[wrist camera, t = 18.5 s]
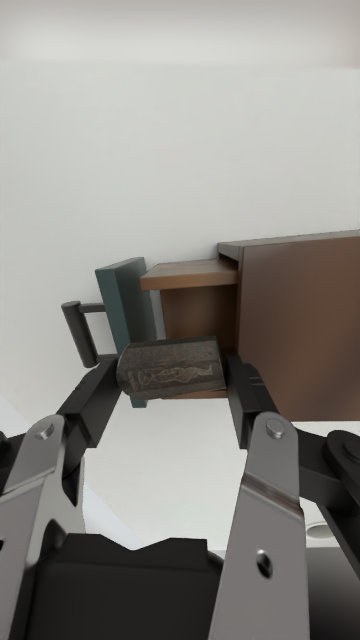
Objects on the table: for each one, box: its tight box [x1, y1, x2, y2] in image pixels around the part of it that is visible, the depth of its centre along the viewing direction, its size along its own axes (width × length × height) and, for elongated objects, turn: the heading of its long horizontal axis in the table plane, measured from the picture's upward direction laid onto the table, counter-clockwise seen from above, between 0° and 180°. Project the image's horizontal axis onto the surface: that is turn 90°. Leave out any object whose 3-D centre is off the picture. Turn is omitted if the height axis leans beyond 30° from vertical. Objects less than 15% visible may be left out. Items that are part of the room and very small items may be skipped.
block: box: [116, 336, 227, 401], centre depth 10 cm, size 4×6×2 cm, turn 107°
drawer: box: [61, 257, 239, 408], centre depth 16 cm, size 18×11×7 cm, turn 95°
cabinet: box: [218, 230, 360, 422], centre depth 15 cm, size 15×13×9 cm
